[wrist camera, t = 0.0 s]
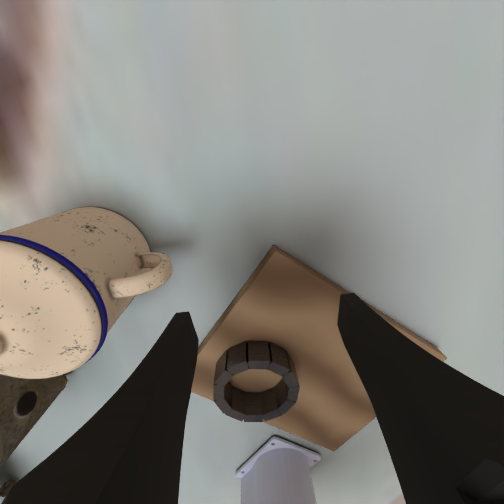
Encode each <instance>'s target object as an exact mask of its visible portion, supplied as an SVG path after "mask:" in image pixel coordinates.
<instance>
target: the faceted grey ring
mask: <svg viewBox="0 0 504 504" xmlns="http://www.w3.org/2000/svg"><path fill="white" fill-rule="evenodd" d="M249 369H265V370H270V371H272V372H274V373H276V374H278V375H280V376H282V377H283V378H282V379H281V380H280V381H279V382H278V383H277V385H276V386H275V387H273V388H270V389H268V390H265V391H262V392H245V391H243V390H240V389H238V388H236V387H234V386H233V385H232V384H231V383H230V381H229V380H230V379H231V378H232V377H233V376H234V375H236V374H239V373H241V372H244V371H246V370H249ZM299 388H300V386H299V381H298V377H297V373H296V369H295V364H294V362H293V360H292V359H291V357H290V355H289V353H288V352H287V351H286V349H284V348H282V347H280V346H278V345H276V344H274V343H272V342H269V343H268V341H256V340H248V343H247V342H246V341H244V342H241V343H239V344H237V345H234V346H232V347H229V348H228V350H226V351H225V352H224V353H223V355H222V356H221V357H220V358H219V360H218V361H217V363H216V369H215V377H214V384H213V400H214V402H215V403H216V405H217V406H218V407H219V408H220V410H221V411H222V412H223V413H225V415H227V416H230V417H232V418H235V419H237V420H240V421H243V419H244V422H263V419H264V421H265V422H266V421H268V420H271V419H274V418H277V417H279V416H282V415H283V414H285V413H286V412H287V411H288V410H289V409H290V408H291V407H292V406H293V405H294V404H295V403H296V401H297V399H298V394H299ZM282 413H283V414H282Z"/></svg>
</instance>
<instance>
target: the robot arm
mask: <svg viewBox="0 0 504 504" xmlns="http://www.w3.org/2000/svg"><path fill="white" fill-rule="evenodd" d="M337 326H338V329H339V332H340V335H341V338H342V341H343V343H344V346H345V348H346V350H347V352H348V354H349V357H350V359H351V361H352V363H353V365H354V367H355V369H356V371H357V373H358V375H359V377H360V379H361V382H362V384H363V386H364V388H365V390H366V392H367V394H368V397H369V399H370V401H371V403H372V406H373V409H374V411H375V414H376V417H377V419H378V422H379V425H380V427H381V430H382V433H383V436H384V439H385V441H386V444H387V447H388V450H389V453H390V456H391V459H392V462H393V465H394V468H395V471H396V474H397V477H398V480H399V483H400V486H401V489H402V492H403V495H404V498H405V501H406V504H504V396H502V395H501V394H499V393H497V392H495V391H493V390H491V389H489V388H487V387H485V386H484V385H482V384H480V383H478V382H476V381H474V380H473V379H471V378H469V377H468V376H466V375H464V374H462V373H461V372H459V371H457V370H455V369H454V368H452V367H450V366H449V365H447V364H446V363H444V362H442V361H441V360H439V359H438V358H436V357H435V356H433V355H432V354H430V353H429V352H427V351H426V350H424V349H423V348H421V347H420V346H418V345H417V344H416V343H414V342H413V341H411V340H410V339H409V338H407V337H406V336H405V335H403V334H402V333H401V332H399V331H398V330H397V329H396V328H394V327H393V326H392V325H391V324H389V323H388V322H387V321H386V320H385V319H383V318H382V317H381V316H380V315H379V314H377V313H376V312H375V311H374V310H373V309H372V308H370V307H369V306H368V305H367V304H366V303H365V302H364V301H362V300H361V299H360V298H359V297H358V296H357V295H355V294H354V293H348V294H340V303H339V312H338V321H337ZM197 354H198V337H197V334H196V331H195V328H194V325H193V322H192V319H191V316H190V313H189V312H181V313H176V314H175V315H174V317H173V318H172V320H171V321H170V323H169V324H168V326H167V327H166V329H165V330H164V331H163V333H162V334H161V336H160V337H159V339H158V340H157V342H156V343H155V344H154V346H153V347H152V348H151V350H150V351H149V353H148V354H147V355H146V357H145V358H144V359H143V360H142V362H141V363H140V364H139V366H138V367H137V368H136V369H135V371H134V372H133V373H132V374H131V376H130V377H129V378H128V379H127V380H126V382H125V383H124V384H123V385H122V386H121V387H120V388H119V389H118V391H117V392H116V393H115V394H114V395H113V396H112V397H111V398H110V399H109V400H108V401H107V402H106V403H105V404H104V405H103V407H102V408H101V409H100V410H99V411H98V412H97V413H96V414H95V415H94V416H93V417H92V418H91V419H90V420H89V421H88V422H87V423H85V424H84V425H83V426H82V427H81V428H80V429H79V430H78V431H77V432H76V433H75V434H74V435H72V436H71V437H70V438H69V439H68V440H67V441H66V442H65V443H64V444H62V445H61V446H60V447H59V448H58V449H57V450H56V451H54V452H53V453H52V454H51V455H50V456H49V457H47V458H46V459H45V460H44V461H43V462H41V463H40V464H39V465H38V466H37V467H35V468H34V469H33V470H32V471H30V472H29V473H28V474H27V475H26V476H24V477H23V478H22V479H21V480H19V481H18V482H17V483H16V484H14V485H13V486H12V487H11V489H10V490H9V492H8V493H7V495H6V497H5V498H4V500H3V502H2V503H1V504H178V495H179V482H180V470H181V459H182V448H183V439H184V429H185V421H186V415H187V409H188V404H189V399H190V394H191V389H192V384H193V379H194V374H195V369H196V363H197ZM320 460H321V455H320V454H318V453H316V452H313V451H311V450H308V449H306V448H303V447H301V446H298V445H296V444H294V443H291V442H289V441H286V440H284V439H281V438H279V437H276V436H274V437H272V438H271V439H270V440H269V441H268V442H267V443H266V444H265V445H264V446H263V447H262V448H261V449H259V450H258V451H257V452H256V453H255V454H254V455H253V456H252V457H251V458H250V459H249V460H248V461H247V462H246V463H245V464H244V465H243V466H242V467H241V468H240V469H239V470H238V471H237V472H236V477H237V478H240V479H241V504H317V503H316V499H315V494H314V489H313V484H312V479H311V475H310V470H309V469H310V468H311V467H312V466H314V465H315V464H316V463H317V462H318V461H320Z"/></svg>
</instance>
